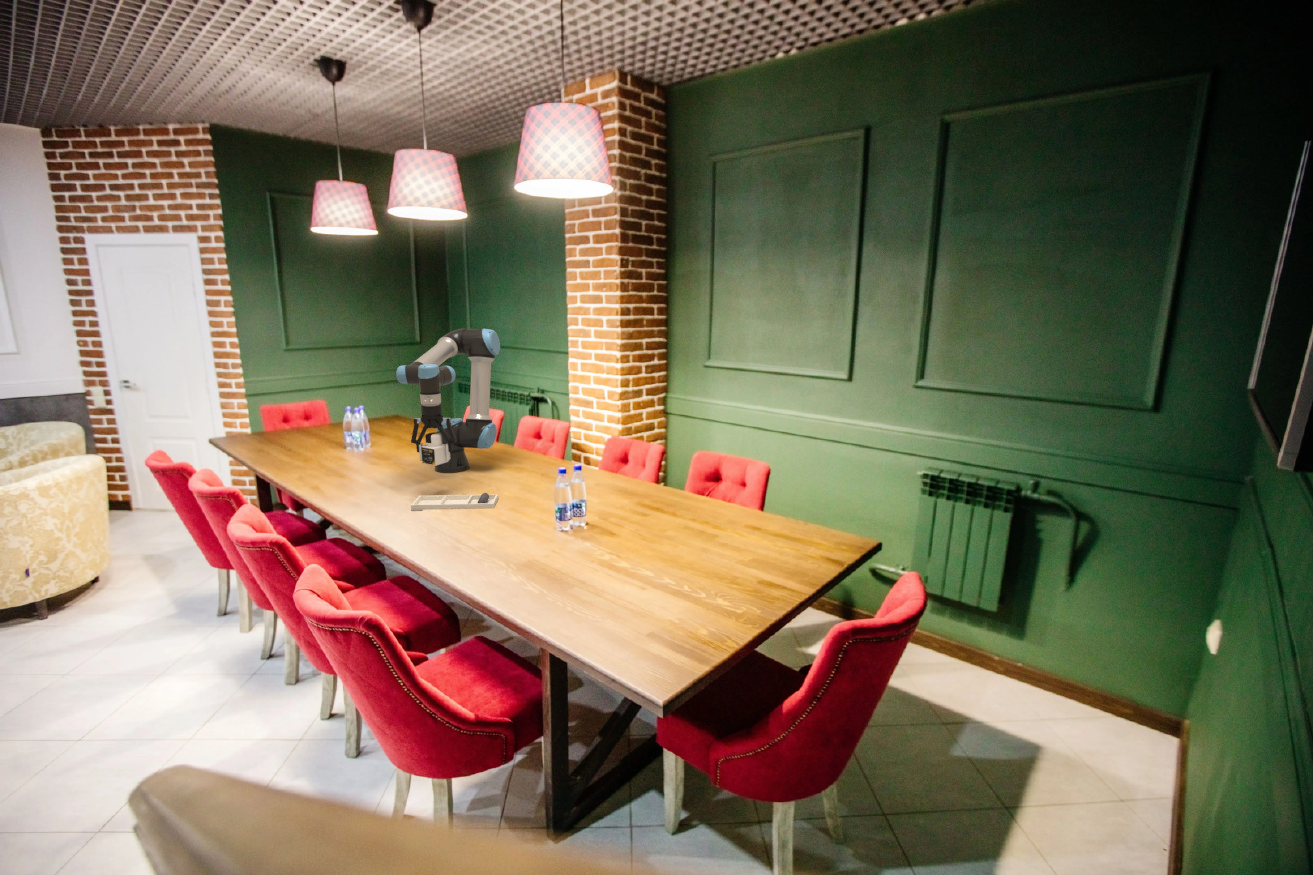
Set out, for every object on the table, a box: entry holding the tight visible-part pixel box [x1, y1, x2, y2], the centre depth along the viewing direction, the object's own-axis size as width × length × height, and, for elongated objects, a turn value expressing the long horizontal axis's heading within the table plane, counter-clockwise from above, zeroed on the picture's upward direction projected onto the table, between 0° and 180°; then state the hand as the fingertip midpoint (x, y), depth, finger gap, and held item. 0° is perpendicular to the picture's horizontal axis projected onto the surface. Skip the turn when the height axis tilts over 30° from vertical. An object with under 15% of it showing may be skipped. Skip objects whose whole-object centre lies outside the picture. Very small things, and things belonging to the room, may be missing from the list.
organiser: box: [410, 494, 499, 512], centre depth 242 cm, size 12×30×2 cm, turn 95°
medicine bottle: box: [421, 431, 448, 467], centre depth 250 cm, size 7×7×12 cm
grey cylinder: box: [478, 492, 490, 503], centre depth 243 cm, size 8×3×3 cm, turn 5°
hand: (435, 459), depth 251 cm, fingers closed on medicine bottle, 10 cm apart
